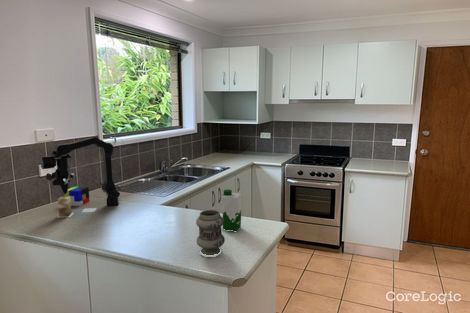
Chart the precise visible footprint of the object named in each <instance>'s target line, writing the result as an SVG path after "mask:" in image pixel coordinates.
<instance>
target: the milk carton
mask: <svg viewBox="0 0 470 313" xmlns="http://www.w3.org/2000/svg"><path fill="white" fill-rule="evenodd" d="M221 201H222V218H223V219H224V224H223V225H222V230H223V229H225V230H233V231H237V230H238V229H239V228H240V229H241V226H242V193H237V192H233V190H232V189H224V190H223V194H222V195H221ZM240 229H239V230H240ZM239 230H238V231H239ZM238 231H237V232H238Z"/></svg>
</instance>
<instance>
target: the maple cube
mask: <svg viewBox="0 0 470 313" xmlns="http://www.w3.org/2000/svg"><path fill="white" fill-rule="evenodd" d="M57 205H58V206H57V207H58V209H59V208H68V207H69V206H71V207H72V205H71V199H70V197H65V196H61V197H59V198H58V199H57Z"/></svg>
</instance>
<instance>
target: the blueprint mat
mask: <svg viewBox="0 0 470 313" xmlns="http://www.w3.org/2000/svg"><path fill="white" fill-rule="evenodd" d="M96 210H97V207H90V208H78V209H77V208H75V209H73V208H71V211H72V214H71V215H70V216H66V217H59V214H58V215H57V216H56V217H55V219H59V218H60V219H61V218H63V219H65V218H78V217H79V218H80V217H91V216H92V214H93V213H94V212H95V211H96Z"/></svg>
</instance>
